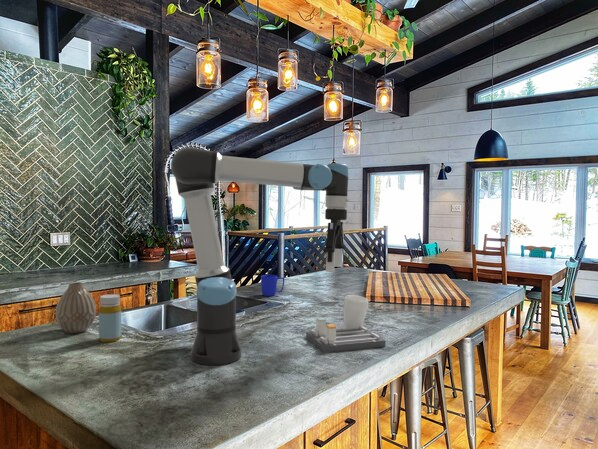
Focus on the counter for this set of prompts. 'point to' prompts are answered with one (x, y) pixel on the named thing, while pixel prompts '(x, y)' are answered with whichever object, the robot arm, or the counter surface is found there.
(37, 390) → the counter surface
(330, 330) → the fader
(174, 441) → the counter surface
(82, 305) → the vase
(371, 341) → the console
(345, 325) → the cup
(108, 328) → the bottle
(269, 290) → the mug
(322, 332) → the block
